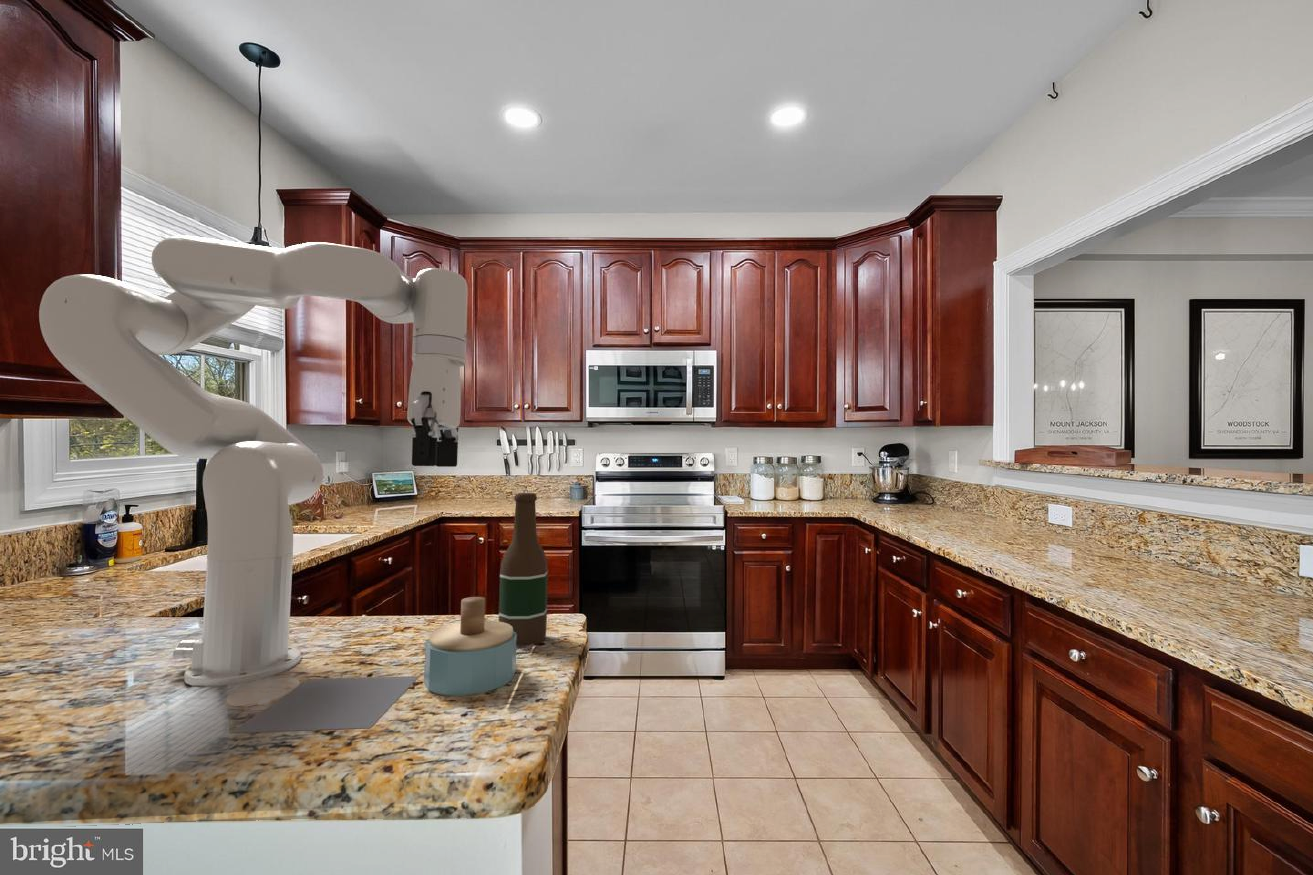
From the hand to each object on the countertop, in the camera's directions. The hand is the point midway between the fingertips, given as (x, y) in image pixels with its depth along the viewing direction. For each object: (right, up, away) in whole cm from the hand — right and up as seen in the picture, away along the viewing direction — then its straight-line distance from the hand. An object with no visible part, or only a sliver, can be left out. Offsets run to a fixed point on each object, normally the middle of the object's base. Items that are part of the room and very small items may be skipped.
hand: (435, 466), depth 78 cm
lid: (+9, -22, -9) cm, 25 cm away
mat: (-5, -27, -16) cm, 32 cm away
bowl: (+9, -28, -9) cm, 30 cm away
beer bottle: (+11, -29, +7) cm, 32 cm away
